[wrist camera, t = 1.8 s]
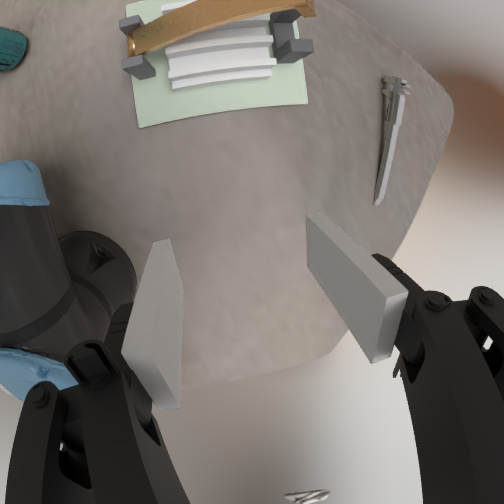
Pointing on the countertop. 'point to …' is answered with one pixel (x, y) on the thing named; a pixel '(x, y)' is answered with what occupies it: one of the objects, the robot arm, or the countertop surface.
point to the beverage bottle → (11, 48)
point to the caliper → (390, 131)
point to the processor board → (216, 65)
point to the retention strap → (205, 20)
